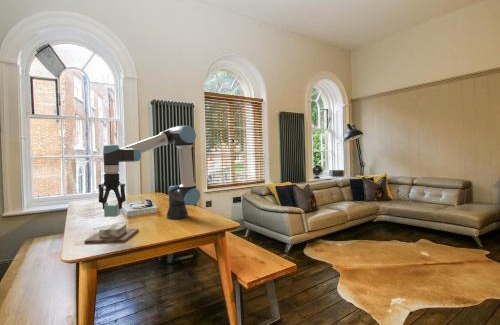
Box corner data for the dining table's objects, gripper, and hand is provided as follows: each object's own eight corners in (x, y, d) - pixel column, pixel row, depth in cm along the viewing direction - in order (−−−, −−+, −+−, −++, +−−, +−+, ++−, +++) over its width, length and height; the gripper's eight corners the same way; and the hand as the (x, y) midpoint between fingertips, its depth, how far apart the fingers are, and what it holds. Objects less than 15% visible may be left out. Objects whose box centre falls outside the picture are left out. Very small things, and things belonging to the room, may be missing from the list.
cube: (120, 214, 149) (120, 203, 149) (115, 216, 143) (115, 205, 143) (109, 214, 149) (109, 203, 149) (104, 216, 143) (104, 205, 143)
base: (138, 231, 157) (138, 221, 157) (124, 242, 137) (123, 232, 137) (103, 231, 156) (103, 222, 156) (84, 243, 136) (84, 232, 136)
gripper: (90, 173, 141) (91, 216, 142) (126, 173, 142) (127, 216, 143) (97, 172, 149) (98, 213, 149) (132, 172, 150) (132, 213, 150)
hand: (112, 214), depth 146 cm, fingers closed on cube, 6 cm apart
